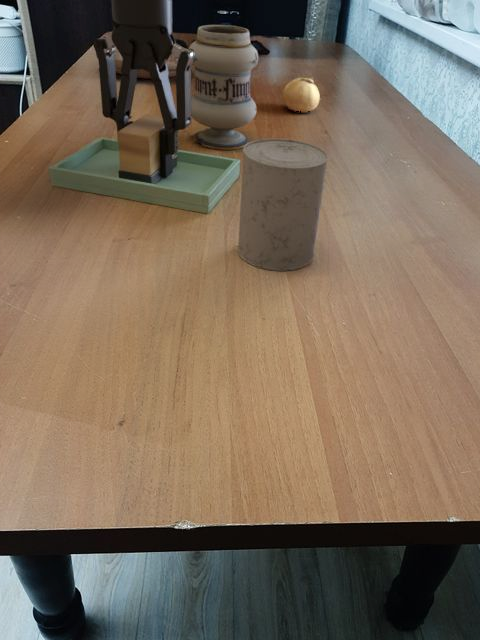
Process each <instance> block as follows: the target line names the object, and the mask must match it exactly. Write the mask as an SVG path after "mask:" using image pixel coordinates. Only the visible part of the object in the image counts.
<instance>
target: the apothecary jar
mask: <svg viewBox="0 0 480 640" xmlns="http://www.w3.org/2000/svg"><path fill="white" fill-rule="evenodd" d="M250 35H251V33H250V30H249V29H248V28H245V27H242V26H236V25H228V24H227V25H226V24H206V25H201V26H199V27H198V28H197V33H196V37H195V40H194V41H193V42H192V43H191V44H190V45H189V47H188V49H190V48H191V49H193V50H194V52H195V57H194V60H193V63H192V64H193V65H192V66H193V67H194V92H193V93H194V94H192V95H191V118H192V119H193V120H194V121H196V122H197V123H199V124H201V125H203V126H205V127H208V128H206V129H204V130H203V129H202V130H200V131H198V132H196V133H195V134H194V136H193V141H194V142H195V144H200V145H201V147H205V148H208V149H213V150H218V151H219V150H220V151H221V150H222V151H231V150H238V149H243V148H244V146H245V145H246V144H248V143H249V138H248V137H247V136H246V135H244V134H243V133H241V132H239V131H238V130H235V129H238V128H242V127H245V126H246V125H248V124H249V123H251V122H252V120H254V119H255V118H256V115H257V111H258V109H257V108H258V107H257V105H256V102H255V100H254V99H253V98H252V97H251V75H252V74H251V73H252V70H253V69H254V68H255V67H256V66H257V65H258V62H259V58H260V57H259V53H258V50H257V49H256V48H255V46H254V45H253V44H252V43H251V38H250Z"/></svg>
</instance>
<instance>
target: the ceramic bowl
mask: <svg viewBox="0 0 480 640" xmlns="http://www.w3.org/2000/svg"><path fill="white" fill-rule="evenodd" d="M95 56H96V59H98V57H97V54H96V53H95ZM114 57H115V69H116V74H119V75H122V73H121V67H122V61H123V58H122V56H121V54H120V53H119V51H118V50H117V48H116V46H115V53H114ZM166 63H167V67H168V72H169V74H168V78H172V77H176V67H177V64H176V63H175V61H174V54H173V53H172V54H171V55H170V57H169V58H168V60H167V61H166ZM193 66H194V65H193V64H192V66H191V68H192V67H193ZM138 78H139V79H151V77H150V73H149V72H147V71H145V70H143V69H140V70H139V73H138V75H137V79H138Z"/></svg>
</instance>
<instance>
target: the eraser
mask: <svg viewBox="0 0 480 640" xmlns="http://www.w3.org/2000/svg"><path fill="white" fill-rule="evenodd" d="M163 129H165V127H164V123H163V119H162V116H159V115H152V114H147V113H146V114H144V115H142V116H141V117H139V118H137V119H136V120H134V121H133V123H131V124H130V125H128V126H126V127H125V128H123V129H121V130H120V131H118V135H117V140H118V144H119V158H120V170H119V171H118V172H119V178H122V179H127V180H133V181H139V182H145V183H150V184H156V183H157V182H158V181H160V180H161V179H162V177H161V154H160V132H161V131H162V130H163ZM172 158H173V168H174V167H175V166H177V155H175V154H174V155H172Z"/></svg>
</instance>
